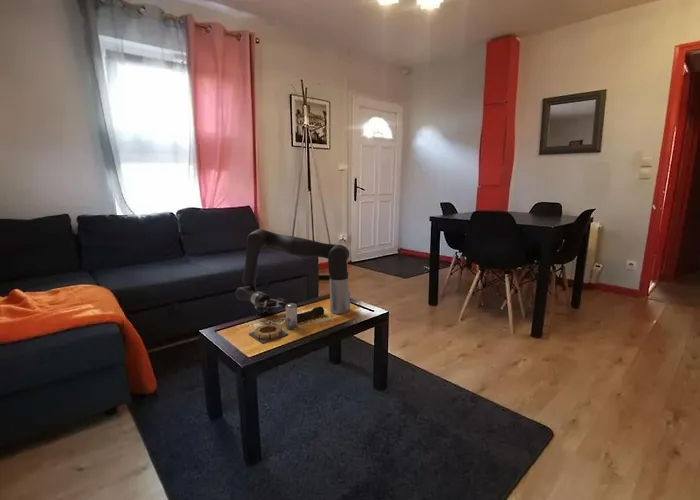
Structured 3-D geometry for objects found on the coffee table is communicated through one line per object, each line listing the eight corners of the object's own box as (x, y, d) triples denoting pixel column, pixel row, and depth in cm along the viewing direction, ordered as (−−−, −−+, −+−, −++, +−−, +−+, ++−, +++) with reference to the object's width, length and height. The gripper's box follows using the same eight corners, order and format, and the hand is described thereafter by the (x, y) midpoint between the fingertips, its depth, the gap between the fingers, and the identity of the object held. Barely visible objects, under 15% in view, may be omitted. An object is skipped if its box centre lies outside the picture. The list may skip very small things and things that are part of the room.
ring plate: (273, 327, 163) (273, 321, 163) (288, 335, 154) (287, 329, 154) (248, 334, 155) (248, 329, 155) (262, 343, 146) (262, 338, 146)
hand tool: (291, 325, 165) (291, 315, 164) (287, 322, 168) (287, 313, 168) (327, 316, 176) (326, 307, 175) (322, 314, 179) (322, 305, 178)
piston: (293, 324, 166) (292, 302, 164) (299, 327, 163) (299, 304, 161) (284, 327, 163) (283, 304, 161) (290, 330, 159) (289, 307, 157)
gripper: (247, 296, 176) (264, 304, 164) (273, 290, 185) (291, 297, 174) (248, 310, 177) (265, 319, 166) (274, 304, 187) (291, 312, 175)
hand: (278, 308), depth 170 cm, fingers open, 8 cm apart
